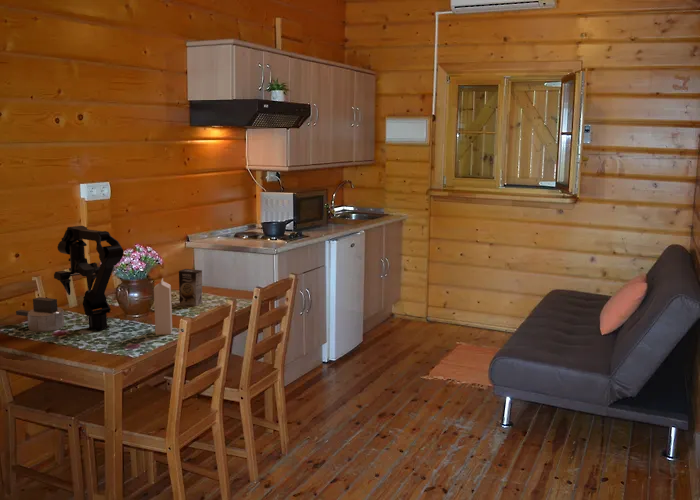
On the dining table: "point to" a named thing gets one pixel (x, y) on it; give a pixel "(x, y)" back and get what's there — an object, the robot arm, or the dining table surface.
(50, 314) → the cup and saucer
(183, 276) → the coffee box
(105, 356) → the dining table surface
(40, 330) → the pot
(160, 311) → the milk
